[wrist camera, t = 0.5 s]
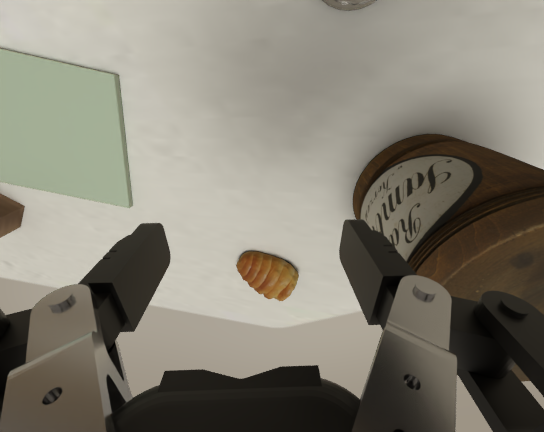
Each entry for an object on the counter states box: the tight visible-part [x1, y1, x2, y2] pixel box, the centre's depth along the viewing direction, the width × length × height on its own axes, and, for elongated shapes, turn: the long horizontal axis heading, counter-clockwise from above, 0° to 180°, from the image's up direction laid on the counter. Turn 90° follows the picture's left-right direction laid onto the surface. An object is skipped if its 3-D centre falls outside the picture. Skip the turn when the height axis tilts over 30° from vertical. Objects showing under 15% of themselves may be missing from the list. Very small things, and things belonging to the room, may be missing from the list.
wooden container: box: [353, 134, 544, 381], centre depth 20 cm, size 15×15×22 cm
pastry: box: [236, 251, 299, 301], centre depth 36 cm, size 9×7×4 cm
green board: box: [0, 48, 133, 208], centre depth 28 cm, size 16×22×1 cm
